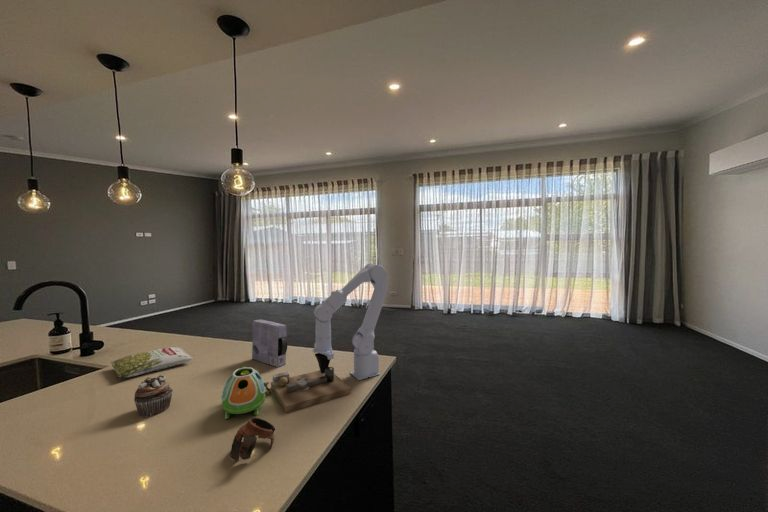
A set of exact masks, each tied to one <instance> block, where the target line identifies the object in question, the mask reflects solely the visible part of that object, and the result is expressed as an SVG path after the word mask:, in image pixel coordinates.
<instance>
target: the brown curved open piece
mask: <svg viewBox="0 0 768 512" xmlns="http://www.w3.org/2000/svg"><path fill="white" fill-rule="evenodd" d="M275 431H276V427H275V426H274V425H273V424H272V423H270V421H267V420H264V419H262V418H259V417H251V418H249V419H248V420H247V422H246V423H245V424H243V425H241V426H240V427H239V429H238V430H237V432H236V434H235V435H234V438H233V439H232V440H233V441H232V444H231V448H230V452H229V455H230V457H231V459H232V460H233V461H235V462H237V463H238V462H239V460H240V459H241V460H243V461H244V460H245V461H246V460H249V459H250V458H251V457H252V454H253V451H254V449H255V447H256V445H257V440H258V439H264V440H265V439H267V440H270V444H269V449H272V448H273V446H274V442H275V435H274V433H275Z"/></svg>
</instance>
